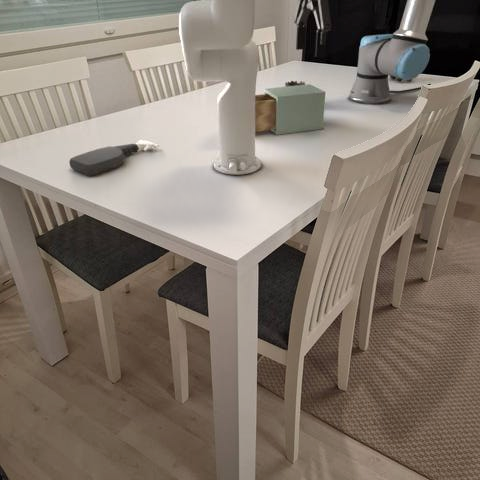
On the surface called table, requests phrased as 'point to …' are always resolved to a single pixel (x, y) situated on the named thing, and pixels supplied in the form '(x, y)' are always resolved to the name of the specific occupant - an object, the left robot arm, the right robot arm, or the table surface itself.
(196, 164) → the table surface
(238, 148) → the left robot arm
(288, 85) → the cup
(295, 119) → the mint green storage box
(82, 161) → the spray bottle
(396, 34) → the right robot arm
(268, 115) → the drawer
